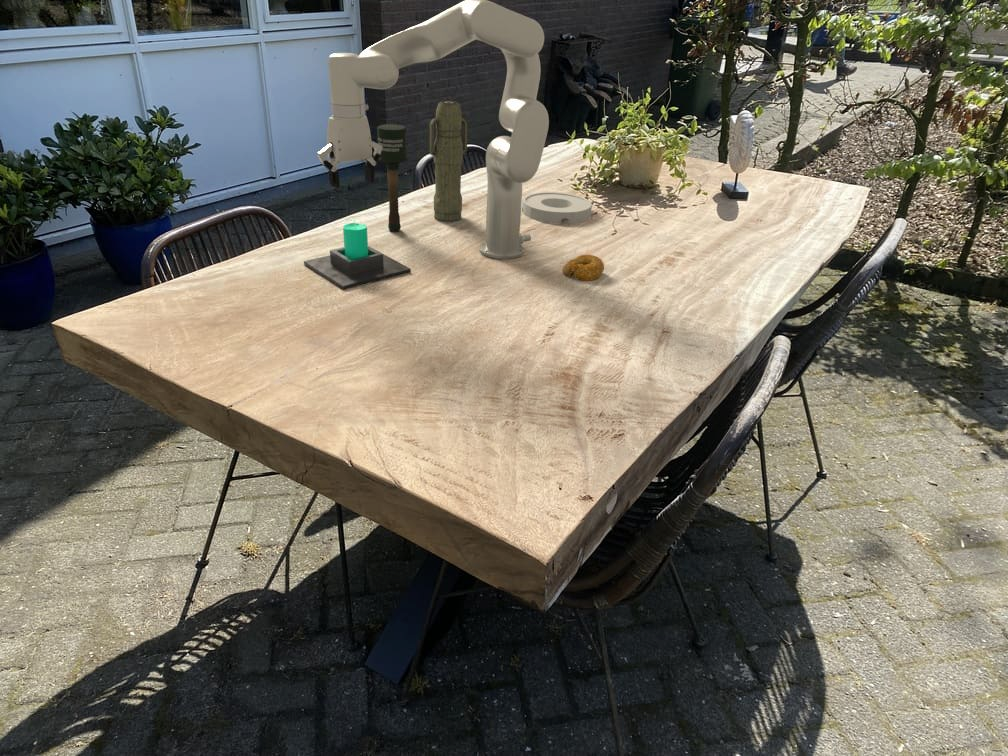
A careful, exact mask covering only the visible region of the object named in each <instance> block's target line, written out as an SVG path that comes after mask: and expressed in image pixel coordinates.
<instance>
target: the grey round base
mask: <svg viewBox="0 0 1008 756" xmlns="http://www.w3.org/2000/svg"><path fill="white" fill-rule="evenodd" d="M592 206H593V204H592V201H591V200H589V199H587V198H585V197H583V196H581V195H577V194H573V193H568V192H559V191H541V192H532V193H529V194H527V195H525V196H523V197H522V202H521V212H523V213H522V214H523V215H524V216H525V217H527V218H529V219H532V220H534V221H538V222H543V223H549V224H562V222H563V223H567V224H576V223H581V222H585V221H587V220H589V219H590V218H591V214H592Z"/></svg>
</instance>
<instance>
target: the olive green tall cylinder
mask: <svg viewBox="0 0 1008 756" xmlns="http://www.w3.org/2000/svg"><path fill="white" fill-rule="evenodd" d="M435 111H436V112H435V117H434V118H432V119H430V122H429V124H428V125H429V128H428V129H429V131H428V132H429V135H428V136H429V137H428V138H429V140H428V141H429V155H431V156H433V162H434V165H435V167H434V169H435V175H434V176H435V177H434V178H435V185H434V186H435V187H434V189H435V191H434V192H435V193H434V196H433V210H434V211H433V212H434V215H433V218H434V220H436V221H438V222H443V223H456V222H458V221H460V220H462V210H463V196H462V193H461V185H462V184H461V183H462V180H461V179H462V176H461V175H462V164H463V160H464V154H465V153H466V152H467V151H468V122H467V120H466V119H465V118H463V117H462V109H461V105H460V103H459V102H457V101H455V100H441V101H440V102H438V104H437V107H436V110H435ZM435 130H436V133H435Z"/></svg>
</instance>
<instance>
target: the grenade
mask: <svg viewBox="0 0 1008 756" xmlns="http://www.w3.org/2000/svg"><path fill="white" fill-rule="evenodd" d="M406 130H407V129H406V127H405V126H404V125H402V124H400V125H399V124H395V123H394V124H393V123H391V124H387V123H386V124H380V125H378V126H377V131H376V132H377V144H379V145H381V146H382V147H383V148H382V151H381V154H380V157H379V159H378V160H377V162H378V161H379V162H380V163H381V162H382V163H385V164H386V170H387V173H386V174H387V185H388V202H389V203H388V204H389V205H388V208H389V209H388V210H389V213H388V226H387V227H388V230H389V231H390V232H392V233H393V232H394V233H397V232H400V231H401V227H402V225H401V218H400V217H401V216H400V213H399V178H400V177H399V167H400V166H399V164H401V163H405V162H408V160H409V159H408V156H407V133H406V132H407V131H406Z"/></svg>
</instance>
